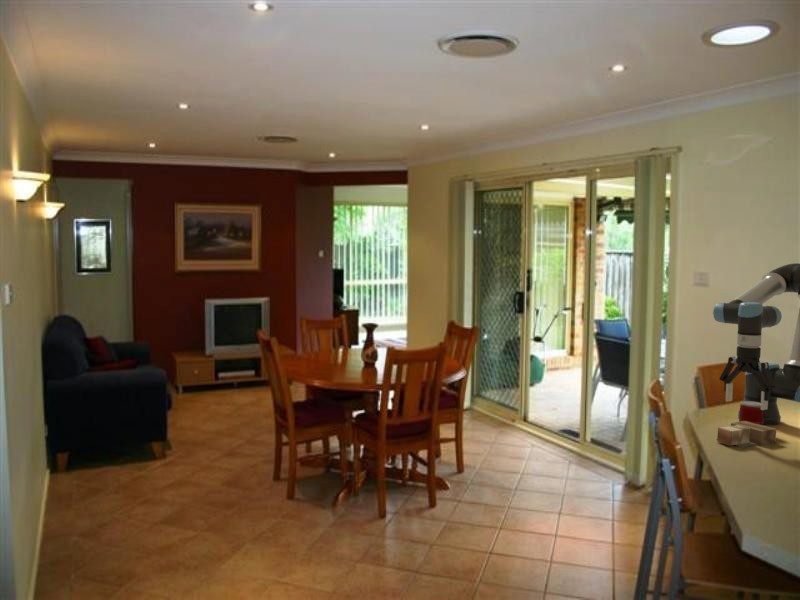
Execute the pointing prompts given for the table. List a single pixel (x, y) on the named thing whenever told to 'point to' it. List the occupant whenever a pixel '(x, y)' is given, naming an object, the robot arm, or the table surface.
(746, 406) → the canned food
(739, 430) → the block
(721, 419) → the table surface
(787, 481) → the table surface
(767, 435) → the step
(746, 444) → the mat
